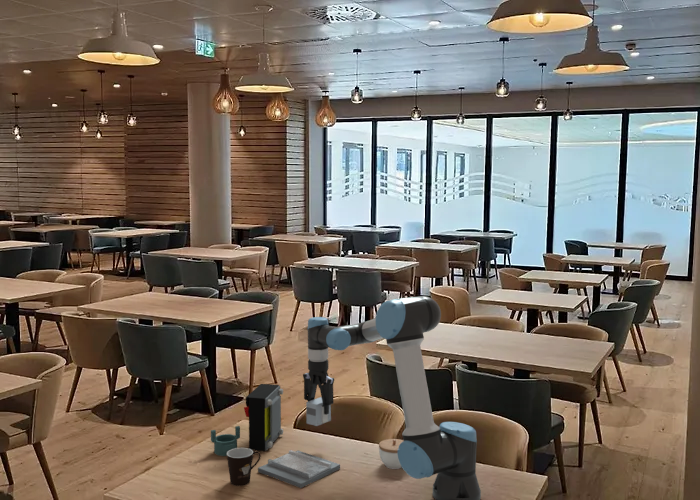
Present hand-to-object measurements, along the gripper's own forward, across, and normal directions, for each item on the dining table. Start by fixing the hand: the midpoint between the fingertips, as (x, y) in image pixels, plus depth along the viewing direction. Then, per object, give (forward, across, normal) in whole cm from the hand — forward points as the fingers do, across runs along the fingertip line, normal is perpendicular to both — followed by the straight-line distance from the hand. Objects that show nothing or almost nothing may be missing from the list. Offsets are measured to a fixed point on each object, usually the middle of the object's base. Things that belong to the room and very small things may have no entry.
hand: (318, 420), depth 257 cm
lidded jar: (+11, -30, -5) cm, 33 cm away
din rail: (+9, -7, +19) cm, 22 cm away
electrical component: (+11, +21, +8) cm, 24 cm away
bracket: (+11, +25, +24) cm, 36 cm away
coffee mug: (+11, +1, +37) cm, 38 cm away
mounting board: (+11, -7, +19) cm, 23 cm away
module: (0, 0, 0) cm, 0 cm away
